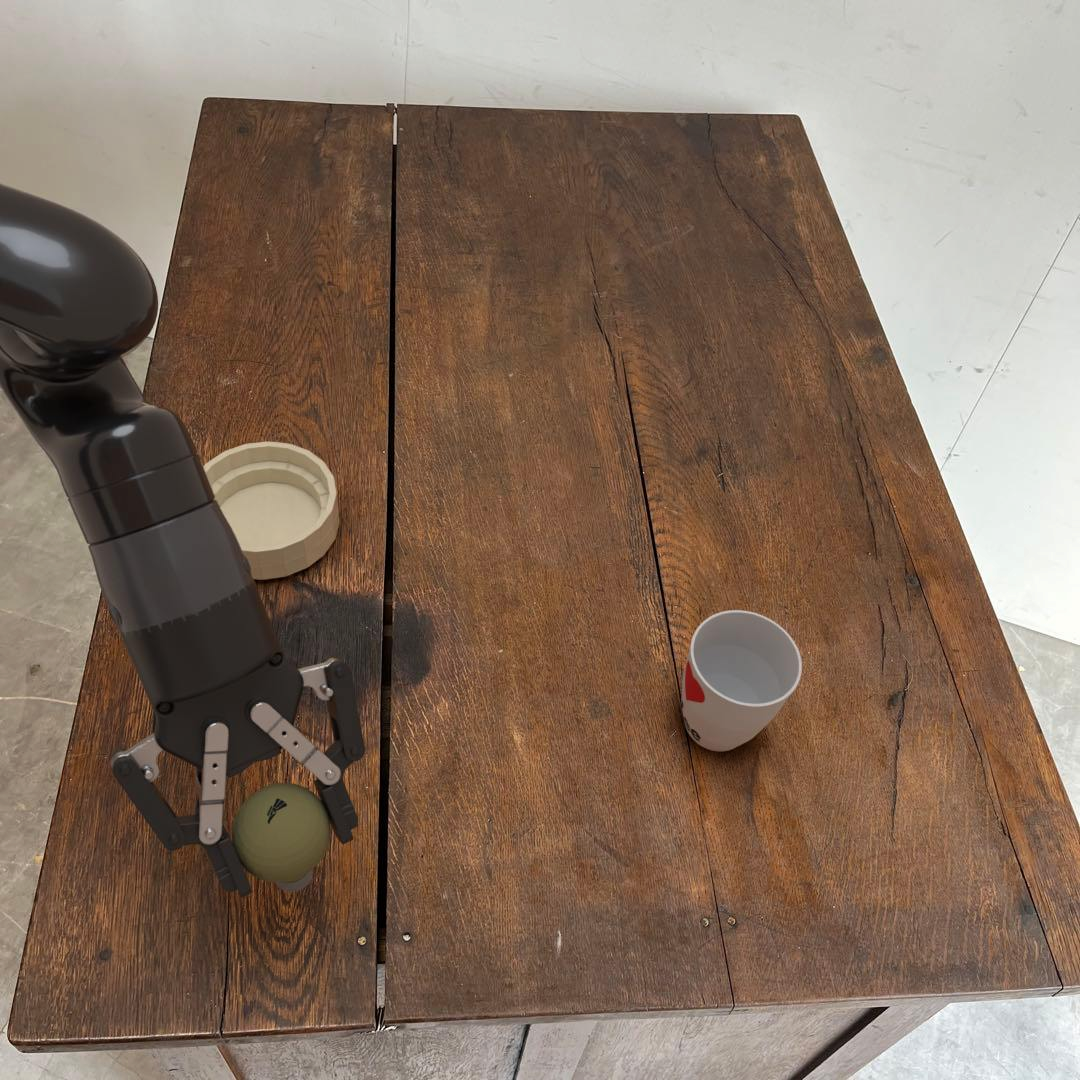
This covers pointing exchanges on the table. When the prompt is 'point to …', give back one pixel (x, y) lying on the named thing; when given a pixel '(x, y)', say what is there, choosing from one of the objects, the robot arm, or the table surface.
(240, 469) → the bowl
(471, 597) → the table surface
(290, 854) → the light bulb
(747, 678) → the cup
